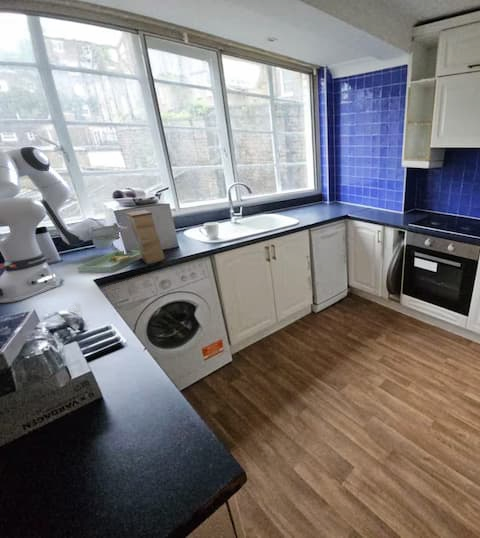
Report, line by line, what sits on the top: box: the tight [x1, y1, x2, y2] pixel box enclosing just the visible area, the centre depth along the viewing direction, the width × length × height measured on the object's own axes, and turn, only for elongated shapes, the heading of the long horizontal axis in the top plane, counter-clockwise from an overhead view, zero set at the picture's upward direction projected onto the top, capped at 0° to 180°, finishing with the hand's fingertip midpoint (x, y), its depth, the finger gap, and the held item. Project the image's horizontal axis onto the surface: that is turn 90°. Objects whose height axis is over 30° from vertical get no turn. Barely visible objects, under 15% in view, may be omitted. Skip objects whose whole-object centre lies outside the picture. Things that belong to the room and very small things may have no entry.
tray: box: [76, 250, 142, 273], centre depth 156 cm, size 24×18×3 cm
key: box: [110, 256, 131, 262], centre depth 156 cm, size 18×5×1 cm, turn 55°
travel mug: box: [35, 225, 62, 265], centre depth 157 cm, size 6×7×20 cm
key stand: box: [125, 209, 166, 265], centre depth 155 cm, size 11×9×26 cm
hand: (104, 226), depth 151 cm, fingers open, 8 cm apart
